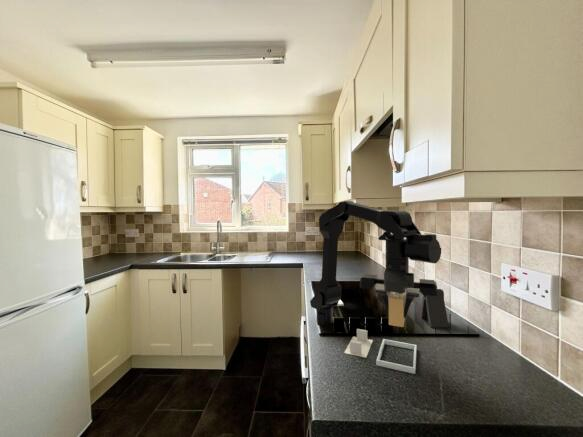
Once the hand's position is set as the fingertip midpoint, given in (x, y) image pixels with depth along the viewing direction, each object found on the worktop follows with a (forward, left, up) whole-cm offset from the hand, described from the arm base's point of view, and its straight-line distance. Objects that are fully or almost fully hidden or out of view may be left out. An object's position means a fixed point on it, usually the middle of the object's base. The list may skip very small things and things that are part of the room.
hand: (397, 316), depth 72 cm
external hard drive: (-37, -32, -12) cm, 50 cm away
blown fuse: (0, 0, -1) cm, 1 cm away
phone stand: (-32, +10, -12) cm, 35 cm away
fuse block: (-2, -10, -12) cm, 16 cm away
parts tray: (0, 0, -12) cm, 12 cm away
